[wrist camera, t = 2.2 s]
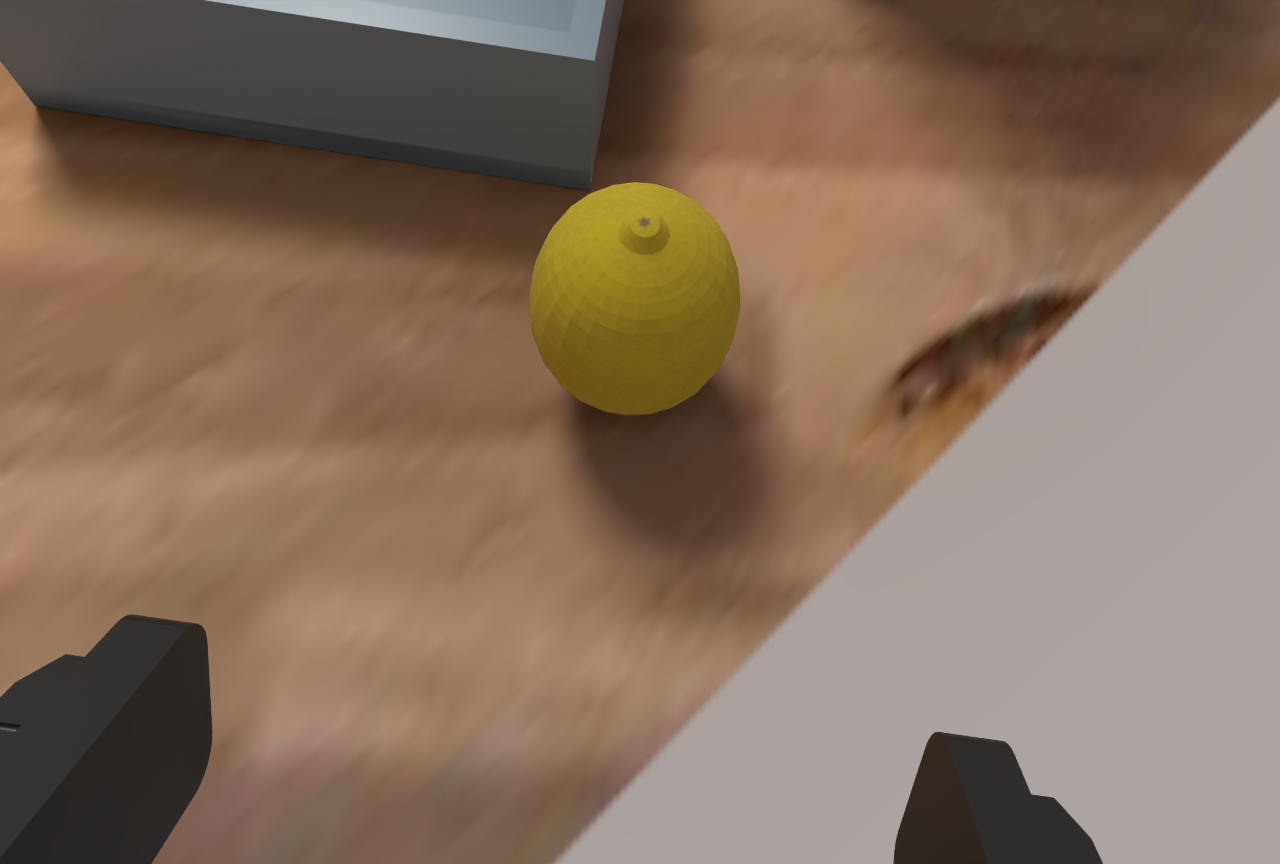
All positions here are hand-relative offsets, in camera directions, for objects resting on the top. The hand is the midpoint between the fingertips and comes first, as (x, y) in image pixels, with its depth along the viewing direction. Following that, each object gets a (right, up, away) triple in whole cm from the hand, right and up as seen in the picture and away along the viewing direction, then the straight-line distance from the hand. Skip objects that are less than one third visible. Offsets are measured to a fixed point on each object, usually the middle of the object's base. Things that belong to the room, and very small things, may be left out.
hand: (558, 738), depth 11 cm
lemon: (0, +5, +19) cm, 20 cm away
